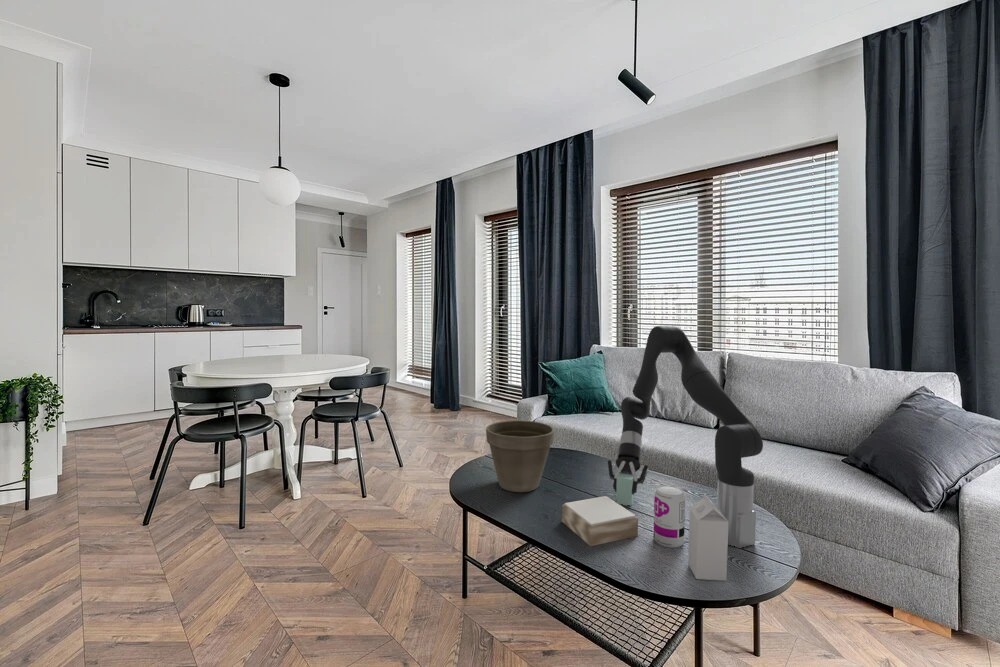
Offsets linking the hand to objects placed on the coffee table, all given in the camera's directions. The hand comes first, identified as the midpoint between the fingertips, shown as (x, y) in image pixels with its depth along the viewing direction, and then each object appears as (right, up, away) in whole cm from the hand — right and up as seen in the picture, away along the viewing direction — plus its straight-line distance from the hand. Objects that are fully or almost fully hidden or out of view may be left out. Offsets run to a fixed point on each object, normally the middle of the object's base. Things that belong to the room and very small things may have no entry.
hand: (624, 492), depth 161 cm
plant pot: (-34, -3, +17) cm, 39 cm away
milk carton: (+10, -7, -40) cm, 42 cm away
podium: (-12, -5, -17) cm, 22 cm away
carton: (+1, -4, +2) cm, 5 cm away
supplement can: (+6, -6, -25) cm, 26 cm away
